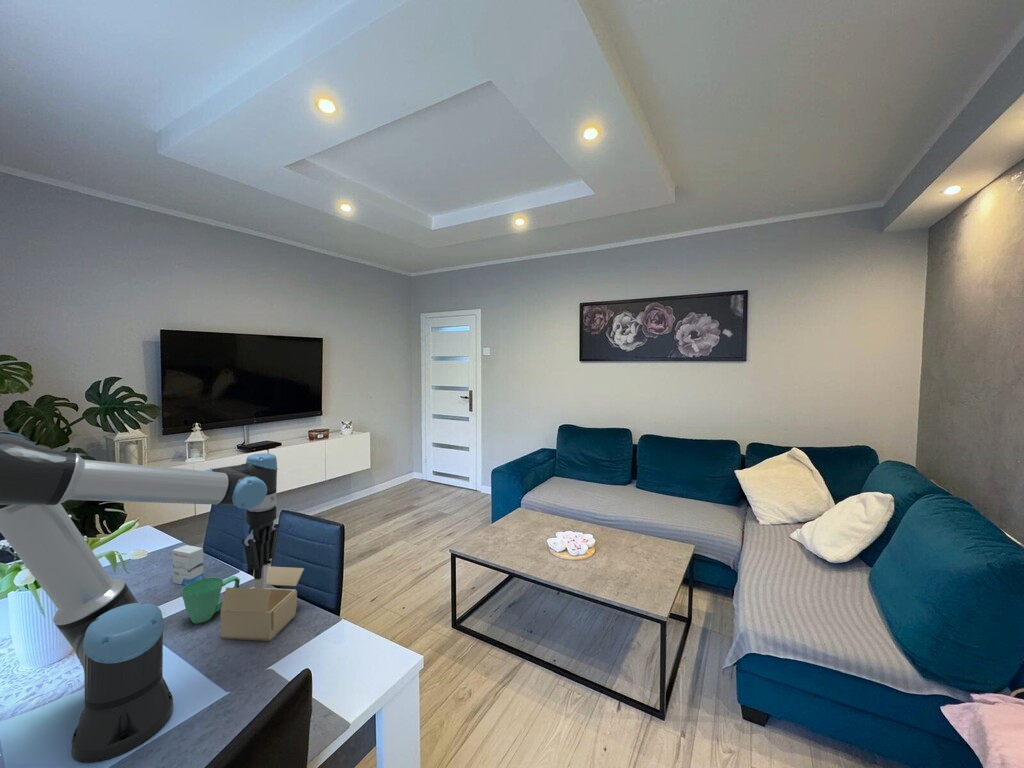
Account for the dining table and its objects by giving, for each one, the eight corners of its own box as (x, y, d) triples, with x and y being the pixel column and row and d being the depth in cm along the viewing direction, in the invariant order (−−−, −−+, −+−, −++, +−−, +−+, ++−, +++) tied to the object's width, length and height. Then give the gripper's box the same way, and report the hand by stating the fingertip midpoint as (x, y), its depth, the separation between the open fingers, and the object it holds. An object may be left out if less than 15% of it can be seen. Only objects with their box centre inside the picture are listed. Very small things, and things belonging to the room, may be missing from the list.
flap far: (295, 585, 123) (303, 568, 127) (255, 583, 124) (265, 566, 128) (296, 586, 123) (304, 568, 128) (256, 584, 124) (265, 566, 128)
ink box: (204, 580, 141) (204, 547, 141) (189, 587, 136) (189, 553, 136) (186, 576, 144) (187, 543, 143) (171, 583, 139) (171, 549, 139)
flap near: (221, 609, 110) (227, 587, 112) (266, 612, 110) (271, 589, 112) (220, 609, 110) (226, 587, 112) (265, 612, 109) (270, 590, 111)
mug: (188, 633, 113) (188, 598, 113) (176, 620, 119) (176, 587, 118) (246, 608, 125) (246, 577, 125) (232, 598, 131) (232, 568, 130)
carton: (272, 641, 110) (272, 613, 110) (218, 638, 111) (218, 609, 111) (297, 615, 122) (298, 589, 122) (249, 612, 123) (249, 586, 123)
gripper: (258, 516, 109) (257, 601, 110) (287, 501, 122) (286, 577, 123) (232, 514, 110) (231, 599, 110) (264, 500, 123) (263, 575, 123)
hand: (260, 587), depth 117 cm, fingers closed
